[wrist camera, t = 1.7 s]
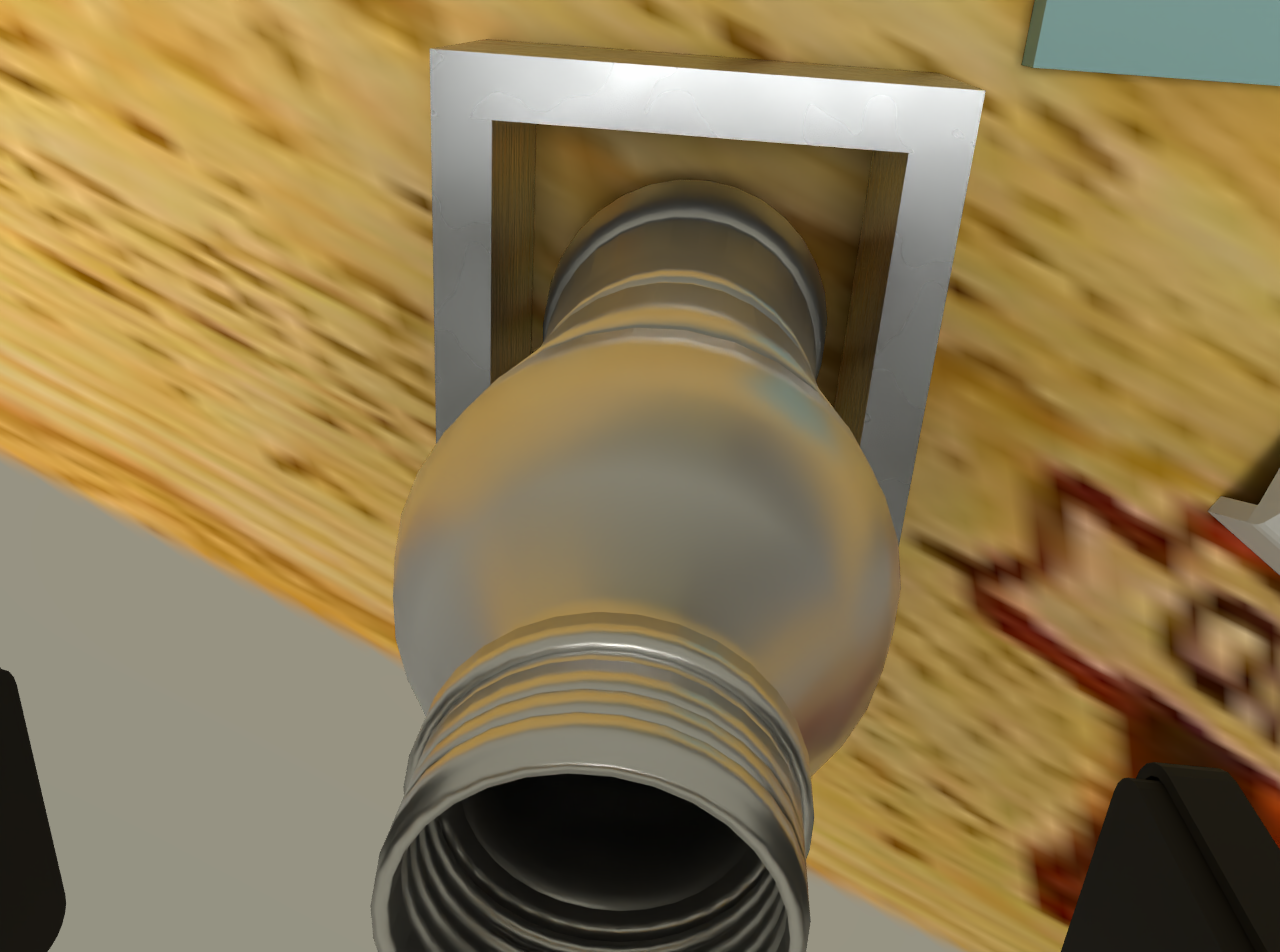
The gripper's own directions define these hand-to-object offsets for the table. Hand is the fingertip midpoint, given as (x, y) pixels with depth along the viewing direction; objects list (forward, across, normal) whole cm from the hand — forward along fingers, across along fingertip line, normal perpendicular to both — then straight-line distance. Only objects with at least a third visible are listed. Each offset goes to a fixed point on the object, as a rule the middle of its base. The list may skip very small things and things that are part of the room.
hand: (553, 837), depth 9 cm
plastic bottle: (+19, -1, 0) cm, 19 cm away
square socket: (+19, -1, 0) cm, 19 cm away
